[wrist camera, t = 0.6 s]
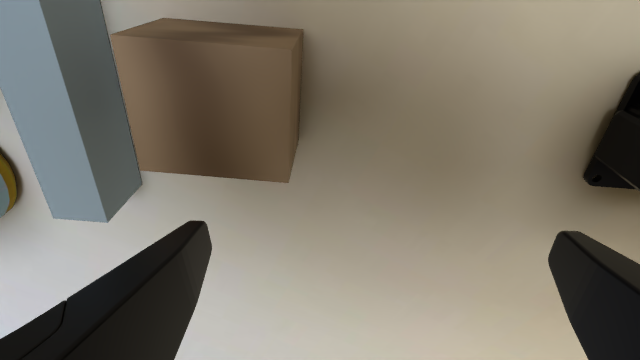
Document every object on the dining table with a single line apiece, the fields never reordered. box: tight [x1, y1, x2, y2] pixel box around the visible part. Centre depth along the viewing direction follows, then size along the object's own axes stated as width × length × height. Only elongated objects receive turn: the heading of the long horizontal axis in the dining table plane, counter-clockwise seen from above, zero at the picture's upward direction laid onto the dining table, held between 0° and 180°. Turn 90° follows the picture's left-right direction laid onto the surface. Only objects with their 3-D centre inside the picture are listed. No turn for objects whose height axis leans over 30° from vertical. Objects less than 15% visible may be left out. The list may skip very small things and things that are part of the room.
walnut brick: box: [110, 18, 303, 183], centre depth 17 cm, size 7×6×5 cm
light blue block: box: [0, 0, 142, 223], centre depth 18 cm, size 3×14×4 cm, turn 176°
